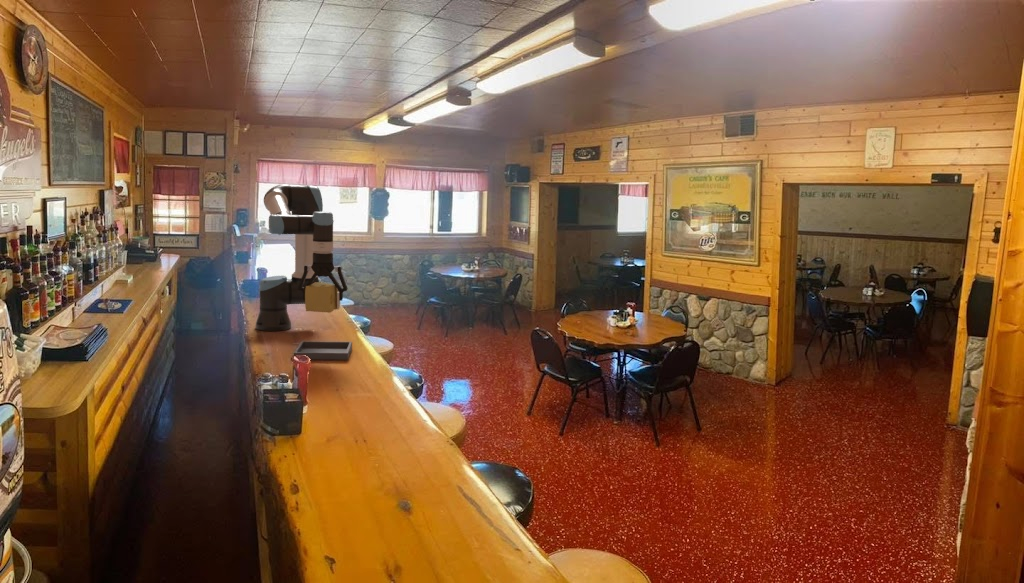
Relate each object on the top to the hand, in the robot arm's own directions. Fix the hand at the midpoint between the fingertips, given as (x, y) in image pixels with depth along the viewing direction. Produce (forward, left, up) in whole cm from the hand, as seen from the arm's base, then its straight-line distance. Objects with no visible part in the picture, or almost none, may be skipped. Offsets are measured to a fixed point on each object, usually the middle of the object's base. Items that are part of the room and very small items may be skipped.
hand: (323, 308), depth 251 cm
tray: (0, 0, -18) cm, 18 cm away
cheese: (0, 0, -1) cm, 1 cm away
